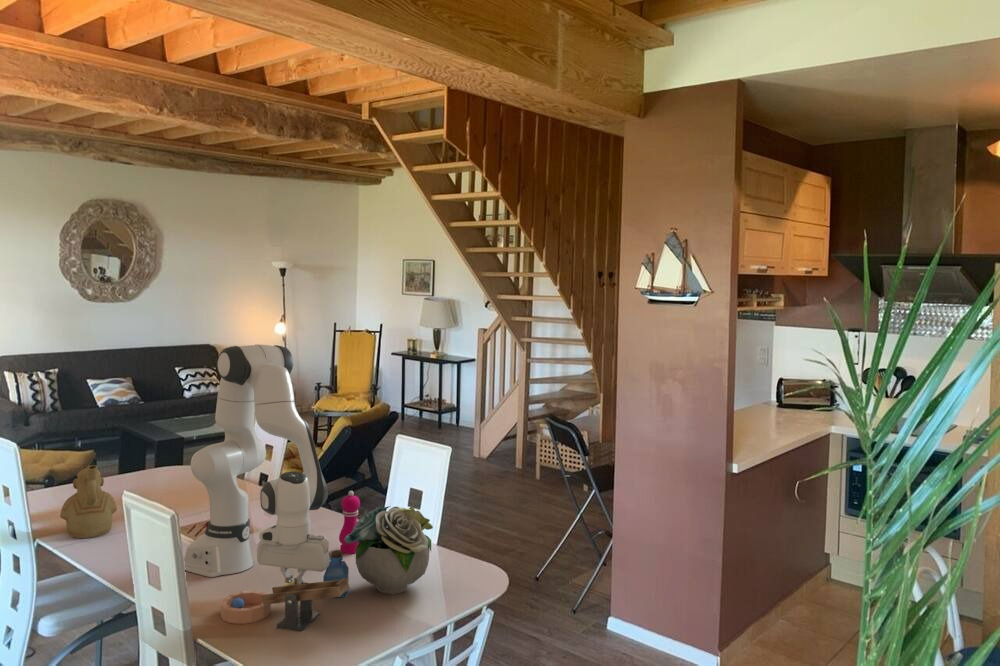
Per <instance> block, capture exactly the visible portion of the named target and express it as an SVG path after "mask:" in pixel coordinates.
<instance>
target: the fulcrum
mask: <svg viewBox="0 0 1000 666" xmlns="http://www.w3.org/2000/svg"><path fill="white" fill-rule="evenodd" d="M307 583H308V582H304V581H303V582H302V583H301V584H307ZM284 605H285V606H284V607H285V609H284V618H283V619H282V620H280V622H278V623H277V624H276V629H281V630H288V631H293V632H294V631H295V632H300V633H301V632H303V631H304V630H305V629H307V627H309V626H310V625H311V624H312V623H313V622H314V621H315V620H317V619H318V618H319V617H320V616H321V612H320V611H314V610H313V599H312V600H303V601H298V595H295V594H288V593H287V594H286V595H285V602H284Z"/></svg>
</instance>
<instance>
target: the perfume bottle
mask: <svg viewBox="0 0 1000 666" xmlns="http://www.w3.org/2000/svg"><path fill="white" fill-rule="evenodd" d="M330 554H331V555H329V560H330V564H329V566H328V568H327V569H325V570H324V574H323V581H322V582H325V581H334V580H341V579H343V578H346V579H348V580H349V567H348V564H347V563H346V561H345V560H343V555H342V554H343V553H342V551H340V549H336V550H335V549H334V550H332V551H331V552H330ZM348 591H349V589H348V590H347V591H345V592H344V593H343V594H342V595H341V596H340V597H346V598H347V595H348ZM346 594H347V595H346Z"/></svg>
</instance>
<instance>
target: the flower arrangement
mask: <svg viewBox="0 0 1000 666" xmlns="http://www.w3.org/2000/svg"><path fill="white" fill-rule="evenodd" d="M390 507H391V506H381V507H378V506H377V507H376V508H375V509H373V510H371V511H370V512H368V511H367V510H365V511H364V512H363V514H362V515H363V516H362V517H361V518H359V520H357V523H356V525H355V527H354V528H353V531H352V532H351V534H348V535H347V536H346V537H345V539H344V541H345V542H346V543H353V542H356V541H358V542H359V543H358V545H357V546H356V553H355V565H356V568H357V570H358V573H359V575H360V576H361V579H364V580H365V581H366V582H367V583H369V584H371V585H373V586H375V587H376V589H377V590H378V592H380V593H383V594H388V595H390V594H391V595H395V593H396V594H400V593H403V592H405V591H406V590H407V589H408V586H410V585H411V584H414V583H415V582H416V581H418V580H419V579H421V577H423V575H425V574H426V571H427V569H428V565H429V561H430V552H432V539H431V538H430V537H429V536H428V535H426V534H424V530H432V529H433V528H434V527H433V526H434V525H433V524H432V523H431V522H430V521H431V520H430V519H429V518H427V517H426V516H424V515H423V514H422V512H421V511H420V510H415V507H414V506H410V507H409V506H408V508H406V507H400V506H393V507H391V508H390ZM388 508H390V509H388ZM387 509H388V511H387Z"/></svg>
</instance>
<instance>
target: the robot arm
mask: <svg viewBox="0 0 1000 666" xmlns="http://www.w3.org/2000/svg"><path fill="white" fill-rule="evenodd" d="M293 367H294V357H293V355H292V353H291V351H290V349H288V348H287V347H285V346H282V345H276V344H275V345H268V344H253V345H241V346H240V345H239V346H238V345H232V346H229V347H228V346H227V347H225V348H223V349H222V350H221V351H220V352H219V355H218V356H217V360H216V369H217V372H218V374H219V376H220V381H219V385H218V391H217V398H216V399H217V400H216V408H215V415H214V416H215V417H214V419H215V423H216V425H217V426H219V428H221V429H223V431H224V441H221V442H218V443H213V444H210V445H207V446H204V447H203V448H201V449H200V450H198V451H196V452H195V453H194V454H193V455H192V457H191V460H190V470H191V473H192V475H193V476H194V477H195V479H197V480H198V482H201V483H202V484H203V485H204V488H205V489H206V491H207V495H208V498H209V515H210V516H209V521H207V522H206V523H204V524H202V525H201V526H202V527H201V529H202V530H203V529H205V530H204V533H203V534H201V535H200V536H198V537H197V538H196V539H195V540H194V541H192V542H191V543H189V545H188V546H187V548H186V551H185V555H184V561H185V568H186V571H185V572H190V573H194V574H196V575H200V576H201V575H202V576H205V577H208V578H215V577H218V576H222V575H223V576H224V575H232V574H237V573H240V572H245V571H247V570H248V569H250V568H251V567H253V566H254V560H253V557H252V551H251V545H250V532H251V524H250V523H251V522H250V521H251V520H250V518H249V495H248V493H247V492H246V491H245V490H243V488H239V484H238V480H237V479H238V478H237V476H239V475H243V474H247V473H249V472H251V471H253V470H255V469H257V468H258V467H259V466H261V465H262V464H263V463H264V462H265V460H266V459H267V458H266V457H267V449H266V447H265V444H264V443H263V441H262V440H261V439H260V438H258V435H257V432H256V428H255V421H256V425H258V427H259V428H260V429H261V430H263V431H264V432H265V433H267V434H269V435H272V436H275V437H277V438H282V439H284V440H288V441H290V442H292V443H293V444H294V445H295V446H296V447H297V450H298V454H299V458H300V462H301V467H302V471H303V472H301V471H285V472H283V473H281V474H280V475H279V476H278V478H276V479H273V480H270V481H266V483H264V485H263V486H262V488H261V489H260V493H259V494H260V495H259V497H260V507H261V509H262V510H263V511H264V512H265V513H267V514H268V515H271V516H276V523H275V524H274V525H272V526H269V527H268V528H267V527H266V529H264V530H262V531H261V532H260V533H259V535H258V537H259V541H258V543H257V544H258V545H257V551H256V559H257V560H256V561H257V563H258V564H259V565H261V566H267V567H269V566H270V567H278V568H280V572H281V574H282V575H283V578H284V583H285V584H286V583H291V582H292V581H295V582H294V584H301V583H302V580H303V576H304V575H305V573H306V572H307V571H310V572H311V571H313V572H321V573H322V572H325V571H326V569H327V568H328V566H329V564H330V561H331V560H330V552H329V547H330V545H329V540H328V539H327V537H326V538H325V537H324V536H322V535H316V534H311V519H310V513H309V511H317V510H319V509H320V508H321V507H323V505H324V504H325V502H326V501H327V499H328V497H329V496H328V495H329V494H328V493H329V491H328V487H327V481H326V479H325V478H324V474H323V472H322V469H321V465H320V461H319V457H318V453H317V450H316V449H317V448H316V446H315V442H314V438H313V434H312V431H311V428H310V426H309V424H308V423H309V422H307V420H306V419H304V418H302V417H301V415H299V412H298V410H297V407H296V402H295V401H296V400H295V394H294V387H293V381H292V377H291V374H292V373H291V372H292V371H293V369H294V368H293ZM289 569H295V570H297V573H298V575H296V576H295V577H294V575H293V574H292V575H291V574H290V572H289ZM293 577H294V578H293Z"/></svg>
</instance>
